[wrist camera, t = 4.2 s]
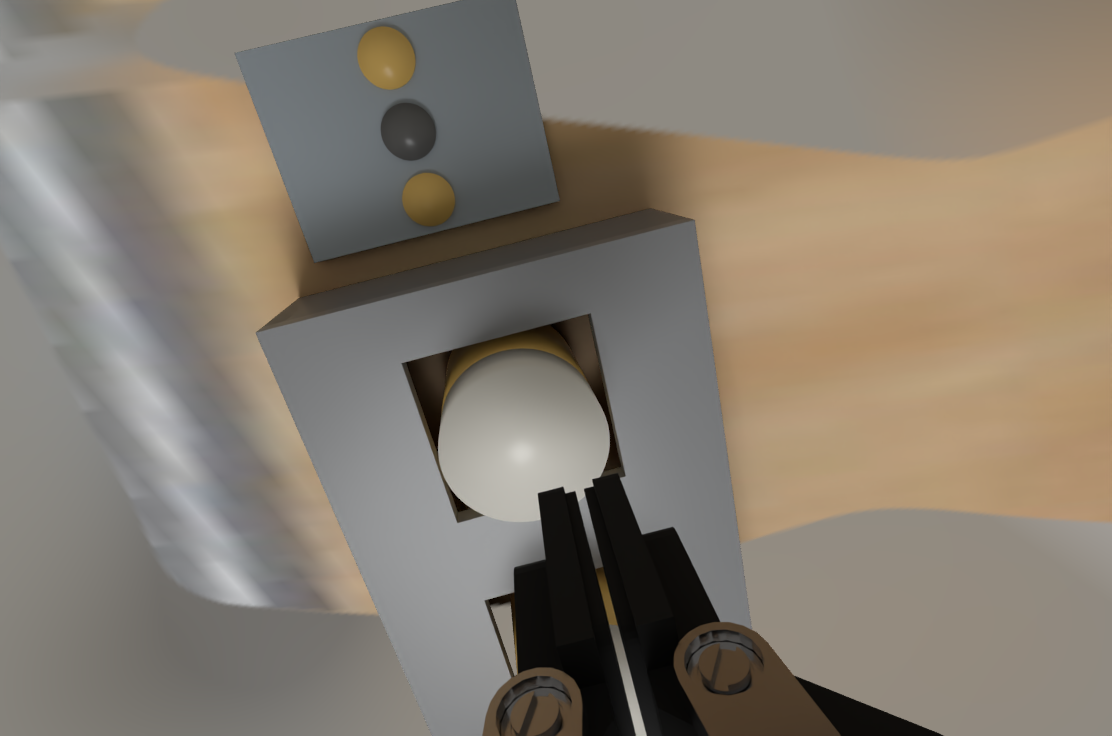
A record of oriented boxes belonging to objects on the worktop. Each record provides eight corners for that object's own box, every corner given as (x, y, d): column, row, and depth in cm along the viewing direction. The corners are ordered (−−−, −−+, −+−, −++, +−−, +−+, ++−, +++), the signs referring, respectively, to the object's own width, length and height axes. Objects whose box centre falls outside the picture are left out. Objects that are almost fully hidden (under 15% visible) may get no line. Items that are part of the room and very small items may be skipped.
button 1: (560, 299, 20) (591, 347, 15) (587, 417, 22) (623, 496, 17) (429, 333, 20) (414, 394, 15) (466, 449, 21) (465, 541, 16)
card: (512, -9, 17) (513, -14, 16) (558, 200, 19) (560, 201, 19) (239, 55, 17) (232, 52, 16) (317, 260, 19) (313, 263, 18)
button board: (650, 208, 20) (694, 219, 16) (738, 736, 29) (779, 824, 25) (298, 298, 19) (255, 332, 15) (503, 808, 28) (508, 909, 24)
